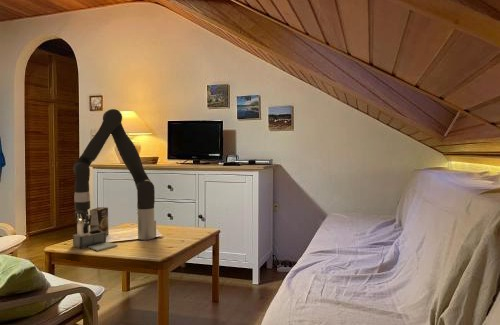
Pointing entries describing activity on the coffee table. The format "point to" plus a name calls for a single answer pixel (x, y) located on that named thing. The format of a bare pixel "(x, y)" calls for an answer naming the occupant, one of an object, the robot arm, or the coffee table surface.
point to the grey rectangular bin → (89, 239)
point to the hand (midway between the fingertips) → (83, 232)
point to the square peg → (80, 230)
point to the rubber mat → (103, 246)
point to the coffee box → (99, 219)
